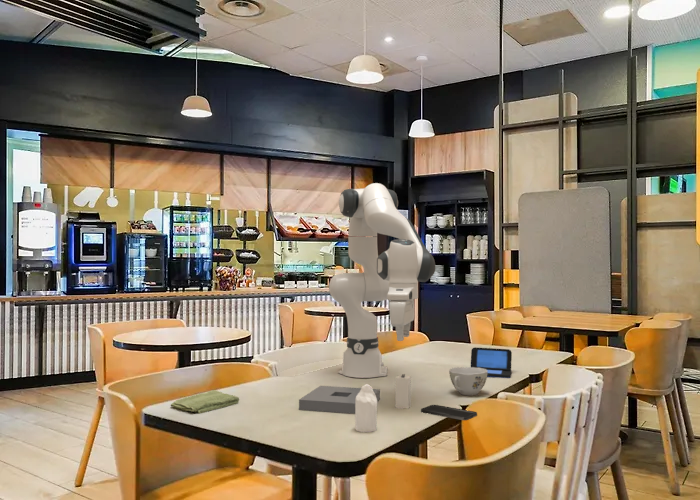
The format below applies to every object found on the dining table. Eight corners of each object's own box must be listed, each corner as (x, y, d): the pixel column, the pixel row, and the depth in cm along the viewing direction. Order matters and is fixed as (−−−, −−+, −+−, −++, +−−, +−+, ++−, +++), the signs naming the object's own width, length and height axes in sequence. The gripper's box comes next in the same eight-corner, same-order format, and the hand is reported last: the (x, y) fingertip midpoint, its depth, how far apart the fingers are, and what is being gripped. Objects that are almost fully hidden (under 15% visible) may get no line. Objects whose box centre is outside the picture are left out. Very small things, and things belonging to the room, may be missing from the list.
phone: (433, 404, 182) (478, 412, 173) (433, 408, 182) (478, 416, 173) (419, 409, 176) (465, 417, 167) (419, 413, 176) (465, 422, 167)
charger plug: (398, 404, 185) (397, 373, 185) (411, 405, 184) (410, 374, 184) (395, 407, 181) (395, 375, 181) (408, 408, 180) (408, 376, 180)
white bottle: (368, 380, 163) (382, 384, 158) (368, 425, 163) (381, 429, 158) (350, 383, 159) (363, 386, 155) (350, 428, 159) (363, 433, 154)
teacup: (462, 387, 209) (462, 364, 209) (494, 393, 200) (494, 369, 200) (437, 395, 197) (437, 370, 197) (471, 401, 189) (471, 375, 189)
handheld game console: (468, 376, 229) (468, 352, 229) (471, 370, 242) (471, 347, 242) (510, 379, 225) (510, 354, 225) (511, 372, 238) (511, 348, 238)
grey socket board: (320, 394, 198) (320, 385, 198) (380, 398, 192) (380, 389, 192) (299, 409, 178) (299, 399, 178) (364, 414, 173) (364, 404, 173)
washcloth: (168, 409, 181) (168, 398, 181) (215, 398, 194) (215, 388, 194) (194, 416, 172) (194, 405, 172) (242, 405, 186) (242, 394, 186)
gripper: (399, 290, 193) (399, 334, 193) (385, 294, 174) (386, 342, 173) (419, 291, 192) (419, 334, 191) (407, 294, 172) (407, 343, 172)
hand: (403, 338), depth 182 cm, fingers open, 8 cm apart
